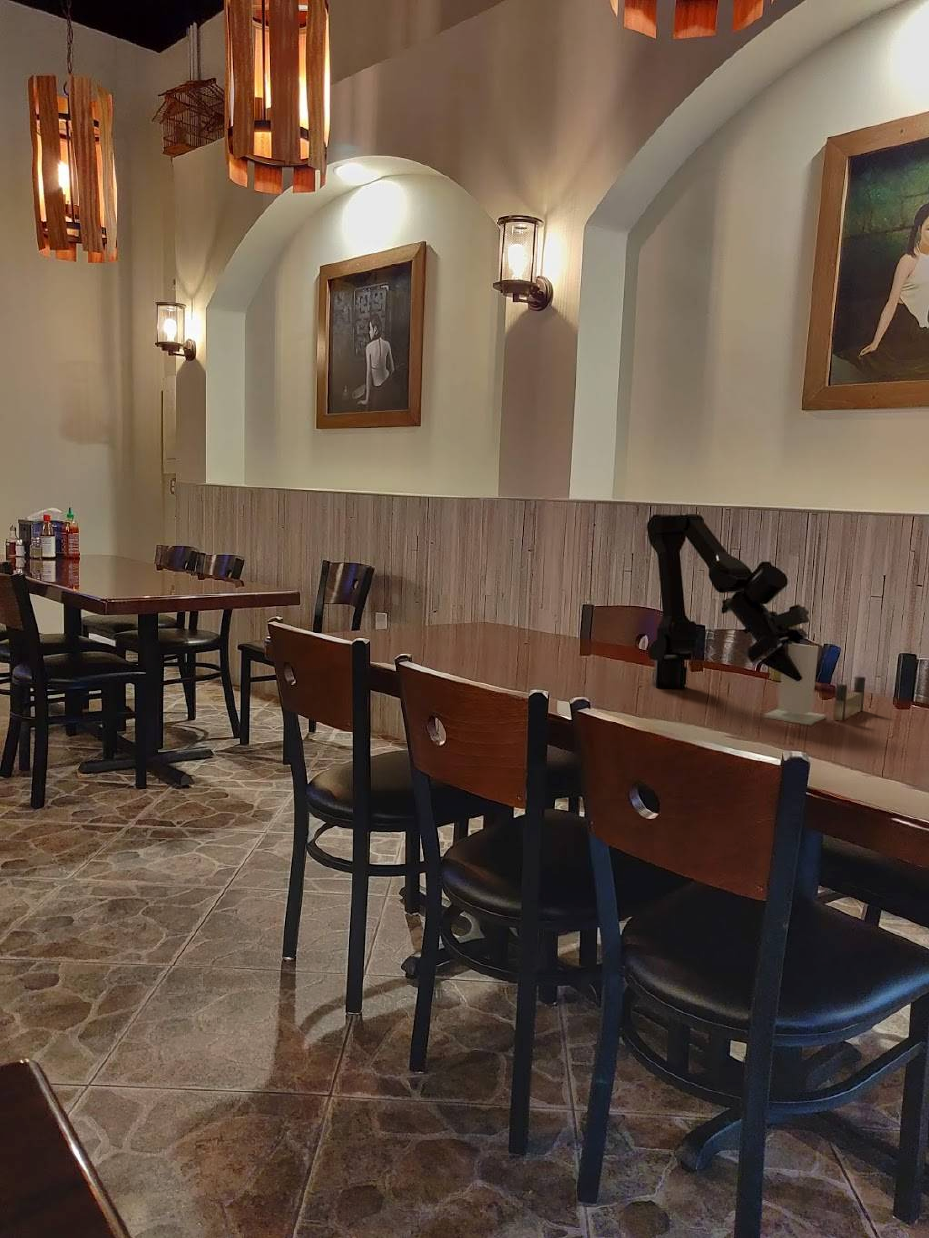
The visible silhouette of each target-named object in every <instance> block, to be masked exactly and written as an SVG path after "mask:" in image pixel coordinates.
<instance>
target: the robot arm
mask: <svg viewBox="0 0 929 1238" xmlns="http://www.w3.org/2000/svg"><path fill="white" fill-rule="evenodd" d="M646 530H647V536H648V542H649V544H650V545H651V547H652V548H653V551H655V553H656V555H657V562H658V563H657V564H658V573H659V585H660V598H661V607H662V618H661V620H660V622H659V624H658V627H657V629H656V630H657V631H656V639H655V640H654V642H652V644H651V645H650V647H648V650H647V653H648V659H650V660H652V661H654V673H653V674H654V675H653V680H651V683H652V684H653V685H654V687H656V688H660V689H682V690H683V689H684V690H685V689H686V685H687V675H688V674H687V673H688V672H687V671H688V668H687V666H685V664H686V661H691V660H692V657H693V656H694V655H693V654H694V651H695V649H696V647H697V640H698V639H699V637H698V636H697V623H696V622H695V621H694V620H690V619H689V618H688V616H687V614H686V607H685V606H686V605H685V597H684V596H685V595H684V585H683V575H682V573H683V572H682V563H681V550H682V548H683V546H684V544H685V541H686V539H687V540H688V542H690V544H691V545H692V547H693V548H694V549H695V551H696V552H697V554H698V555H699V556H700V557H701V559H702V560H703V561H704V563H705V565H706V567H707V568H708V578H709V580H710V582H711V584H712V586H713V589H714V590H715V591H716V592H717V593H719V594H733V595H731V597H728V598H726V599H723V600H721V602H722V606H721V611H720V612H721V614H723V615H725V614H728V613H729V612H732V613H733V615H734V616H735V618H737V619H738V621H739V623H741V625H743V627H744V629H742V631H743V632H744V634H745V635H750V636H751V637H752V638H753V640H754V641H755V642H754V643H753V644H751V645H750V646H749V647H748V648H746V657H747V659H748V660H749V661H750V662H751V664H755V663H759V662H760V664H761V665H765V666H767V667H769V668H770V669H771V668H773V669H775V670H777V671H779V672H780V673H782V674H784V675H786V676H788V677H790V678H792V679H794V680H796V681H800V680H801V679H802V676H801V675H800V673H799V671H798V669H797V668H796V666H795V665H794V663H793V661H792V660H791V658H790V657H789V655H788V644H792V643H795V644H803V643H805V639H807V637H808V633H807V632H806V631H805V630H804V629H803V628H800V627H797V628H793V629H790V627H792V626H795V625H798V626H799V625H802V624H807V623H809V622H810V619H809V617H808V615H809V613H810V612H809V610H807V608H806V607H805V606H802V605H800V604H799V603H798V604H795V605H792V606H789V607H788V608H789V609H788V610H787V611H785V612H782V613H779V614H778V613H777V612H776V611H773V610H772V611H770V610H768V608H767V607H766V606H765V605H768V604H769V603H771V602H772V601H773V600H774V599H775V598H776V597H777V596H778V595H779V594H780V593H781V592H782V591H783V590H784V589H785V588H786V587H787V586H788V584H789V583H788V582H789V581H788V580H789V579H788V576H787V575H786V573H784V572H783V571H782V570H781V569H780V568H779V567H776V566H774V565H773V564H772V562H771V561H767V560H765V561H761V562H760V563H759V564H758V566H757V568H756V569H754V571H753V572H752V570H751V569H750V568H749V566H747V565H746V564H745V563H744V562H743V561H742V560H741V559H739V558H737V557H734V556H732V555H731V554H729V552H728V551H727V550H726V549H725V547H724V546H723V545H722V543H720V541H719V539H718V538H717V537H716V536H715V534H714V533H713V532H712V530H711V529H710V528H709V526H708V525H707V524H706V523H705V519H704V517H703V516H702V515H700V514H698V513H682V514H667V513H666V514H664V513H662V514H660V513H656V514H653V515H652V516H651V517H650V518H649V520H648V521H647V523H646ZM803 645H804V644H803ZM761 657H764V658H763V659H762V661H760V658H761Z"/></svg>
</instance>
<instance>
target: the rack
mask: <svg viewBox="0 0 929 1238" xmlns="http://www.w3.org/2000/svg"><path fill="white" fill-rule="evenodd" d="M853 685H854V686H853V691H852V692H850V693H847V692H848V685H847V684H839V683H837V684H836V685H835V686H836V687H835V694H834V695H835V697H834V698H835V699H834V705H833V717H832V718H833V721H836V720H839V721H838V722H844V721H845V720H847V719H849V718H851V717H852V716H851V715H853V714H855V713H857V712H859V713H861V712H860V711H862V712H863V710H864V700H865V686H866V677H864V676H854V684H853ZM857 714H858V713H857ZM855 715H856V714H855ZM850 716H851V717H850ZM853 716H854V715H853ZM848 717H849V718H848ZM846 718H847V719H846ZM844 719H845V720H844Z"/></svg>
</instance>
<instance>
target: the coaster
mask: <svg viewBox="0 0 929 1238" xmlns="http://www.w3.org/2000/svg"><path fill="white" fill-rule="evenodd" d="M825 717H826V718H827V715H826V714H824V713H817V712H812V711H811V712H808V713H806V714H797V713H792V712H786V711H780V710H778V708H777V709H775V710H772V711H769V712H767V713H765V714H764V718H766V719H772V720H778V721H783V722H788V723H790V722H791V723H796V724H800V725H801V724H802V725H806V726H812V725H814V724H816V723H818V722H820V721H822V720H824V719H826V718H825ZM815 722H816V723H815ZM813 723H814V724H813Z"/></svg>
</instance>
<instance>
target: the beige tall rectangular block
mask: <svg viewBox="0 0 929 1238" xmlns="http://www.w3.org/2000/svg"><path fill="white" fill-rule="evenodd" d="M818 653H819V645H818V646H817V645H810V644H795V643H792V644H788V655H789V657H790V658H791V660H792V661H793V663H794V665H795V666H796V668H797V669H798V671H799V673H800V675H801V676H802V679H801V680H800V681H796V680H794V679H792V678H790V677H788V676H786V675H784V674H782V673H781V682H780V681H779V682H780V683H779V695H778V705H777V709H778V710H780V711H786V712H792V713H797V714H806V713H808V712H812V711H813V705H814V704H813V703H814V695H815V684H816V674H817V665H818Z"/></svg>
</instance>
